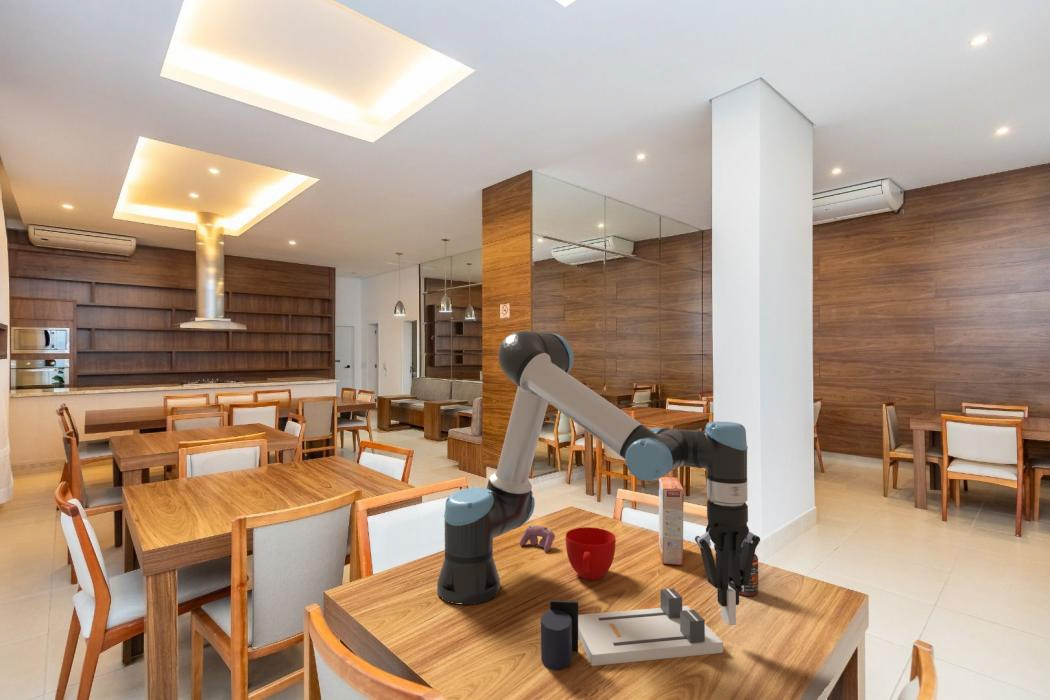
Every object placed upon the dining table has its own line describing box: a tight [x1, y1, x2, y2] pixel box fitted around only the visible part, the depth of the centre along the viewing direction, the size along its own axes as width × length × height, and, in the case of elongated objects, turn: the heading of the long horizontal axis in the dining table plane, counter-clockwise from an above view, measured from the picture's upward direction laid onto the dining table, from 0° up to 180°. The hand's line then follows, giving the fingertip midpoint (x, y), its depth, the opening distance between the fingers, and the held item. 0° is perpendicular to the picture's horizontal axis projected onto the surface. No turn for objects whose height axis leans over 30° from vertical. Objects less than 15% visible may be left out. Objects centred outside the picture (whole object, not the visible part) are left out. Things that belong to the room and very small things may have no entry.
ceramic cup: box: [565, 526, 617, 581], centre depth 126 cm, size 13×17×10 cm
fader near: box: [680, 609, 706, 643], centre depth 95 cm, size 3×4×4 cm
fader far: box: [660, 588, 683, 618], centre depth 104 cm, size 3×4×4 cm
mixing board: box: [578, 605, 724, 667], centre depth 98 cm, size 26×14×2 cm, turn 99°
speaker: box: [540, 600, 579, 671], centre depth 91 cm, size 8×6×10 cm
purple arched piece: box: [519, 525, 556, 553], centre depth 146 cm, size 10×5×7 cm, turn 58°
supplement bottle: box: [739, 543, 759, 597], centre depth 118 cm, size 6×6×11 cm
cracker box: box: [658, 476, 685, 566], centre depth 140 cm, size 14×6×21 cm, turn 168°
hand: (728, 621), depth 96 cm, fingers closed
